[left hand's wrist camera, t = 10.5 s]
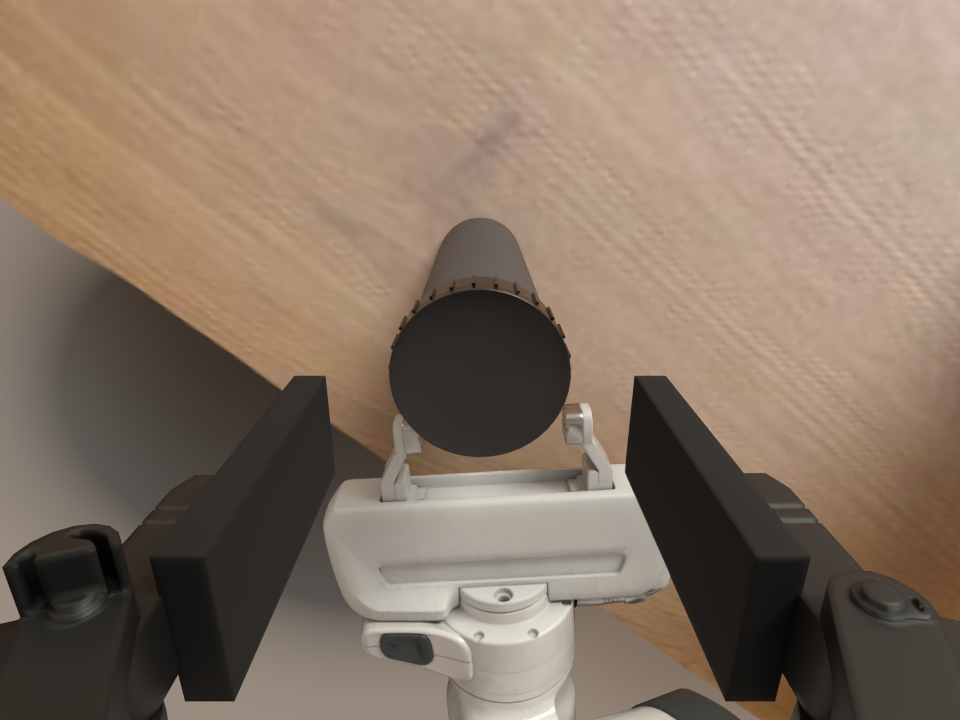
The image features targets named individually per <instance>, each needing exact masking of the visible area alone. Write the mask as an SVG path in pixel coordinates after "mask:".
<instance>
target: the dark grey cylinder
mask: <svg viewBox="0 0 960 720" xmlns="http://www.w3.org/2000/svg"><path fill="white" fill-rule="evenodd" d="M472 275H476V277H493V278H494V275H495V276H497V277H498V279H502V280H506V281H509V282H512V283H514V282H515V281H516V282H518V285H519V286H520V287H522V288H524V289H526V290H527V291H529V292H530V293H533V292H534V293H536V295H537V292H536V289H535V287H534V284H533V282H532V279H531V276H530V274H529V271H528V269H527V266H526V263H525V261H524V258H523V255H522V253H521V250H520V248H519V245H518V243H517V240H516V239H515V237H514V235H513V234H512V233H511V232H510V231H509V230H508V229H507V228H506V227H505V226H504V225H502V224H500V223H499V222H496V221H494V220H491V219H486V218H474V219H469V220H466V221H464V222H461V223H460V224H458V225H456V226H455V227H454V228H453V229H452V230H451V231H450V232H449V233H448V234H447V236H446V237H445V239H444V241H443V243H442V245H441V248H440V250H439V253H438V256H437V258H436V261H435V263H434V266H433V269H432V271H431V274H430V276H429V279H428V282H427V284H426V287H425V289H424V292H423V295H422V297H421V299H422V298H423V297H425V296H426V295H427V294H428V293H429V292H430V291H431V288H433V287H435V289H436V288H437V287H439V286H441V285H444V284H446V283H448V282H450V281H451V279H453V278H454V280H458V279H462V278H468V277H472ZM537 298H538V299H539V297H538V295H537Z"/></svg>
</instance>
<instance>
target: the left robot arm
mask: <svg viewBox="0 0 960 720" xmlns="http://www.w3.org/2000/svg"><path fill="white" fill-rule="evenodd" d="M334 474H335V465H334V455H333V445H332V436H331V426H330V416H329V406H328V397H327V387H326V377H325V376H294V377H293V378H292V379H291V381H290V382H289V383H288V384H287V386H286V387H285V388H284V389H283V391H282V392H281V393H280V394H279V396H278V397H277V398H276V399H275V401H274V402H273V403H272V404H271V406H270V407H269V408H268V409H267V411H266V412H265V413H264V414H263V416H262V417H261V418H260V419H259V421H258V422H257V423H256V424H255V426H254V427H253V428H252V429H251V431H250V432H249V433H248V434H247V436H246V437H245V438H244V439H243V441H242V442H241V443H240V444H239V446H238V447H237V448H236V449H235V450H234V452H233V453H232V454H231V455H230V457H229V458H228V459H227V460H226V462H225V463H224V464H223V465H222V467H221V468H220V469H219V470H218V472H217V473H216V474H215V475H194V476H193V477H191V478H189V479H188V480H186V481H185V482H183V483H181V484H180V485H178V486H177V487H175V488H173V489H172V490H170V492H169V493H168V494H167V495H166V496H165V497H164V498H163V499H162V501H161V502H160V503H159V504H158V505H157V506H156V509H155V511H152V512H151V513H150V514H149V515H148V516H147V517H146V518H145V520H144V521H143V524H142V525H139V526H138V527H137V528H136V530H135V531H134V532H133V533H132V534H131V535H130V536H129V537H128V539H127V540H126V541H125V542H124V543H123V544H122V543H121V539H120V536H119V532H117V531H116V530H114V529H113V528H112V527H110V526H106V525H99V524H88V525H79V526H73V527H69V528H66V529H62V530H59V531H55V532H52V533H50V534H48V535H46V536H43V537H41V538H39V539H37V540H35V541H33V542H31V543H29V544H28V545H26V546H25V547H23V548H22V549H21V550H19V551H18V552H16V553H15V554H13V556H12V557H11V558H10V559H9V560H8V561H7V563H6V564H5V565H4V566H3V567H2V568H3V571H4V574H5V576H6V579H7V582H8V585H9V587H10V590H11V593H12V596H13V598H14V601H15V604H16V607H17V609H18V612H19V615H20V619H19V620H15V621H12V622H7V623H2V624H0V720H168V718H167V712H166V707H165V703H164V698H165V697H166V695H167V693H168V691H169V689H170V688H171V686H172V684H173V682H174V681H175V679H176V677H177V675H179V679H180V683H181V687H182V691H183V695H184V699H185V701H235V699H236V696H237V694H238V692H239V690H240V687H241V685H242V683H243V680H244V678H245V676H246V674H247V671H248V669H249V667H250V665H251V662H252V660H253V658H254V656H255V653H256V651H257V649H258V646H259V644H260V642H261V640H262V637H263V635H264V633H265V631H266V628H267V626H268V624H269V622H270V619H271V617H272V615H273V612H274V610H275V608H276V606H277V603H278V601H279V599H280V597H281V594H282V592H283V590H284V588H285V585H286V583H287V581H288V579H289V576H290V574H291V572H292V569H293V567H294V565H295V563H296V560H297V558H298V556H299V553H300V551H301V549H302V547H303V545H304V542H305V540H306V538H307V535H308V533H309V531H310V529H311V526H312V524H313V522H314V520H315V517H316V515H317V513H318V511H319V508H320V506H321V504H322V502H323V499H324V497H325V495H326V492H327V490H328V488H329V486H330V483H331V481H332V479H333V476H334ZM625 474H626V477H627V479H628V481H629V483H630V486H631V488H632V490H633V492H634V495H635V497H636V499H637V502H638V504H639V506H640V508H641V511H642V513H643V515H644V517H645V520H646V522H647V524H648V526H649V529H650V531H651V533H652V535H653V538H654V540H655V542H656V545H657V547H658V549H659V551H660V554H661V556H662V558H663V560H664V563H665V565H666V567H667V569H668V572H669V574H670V576H671V579H672V581H673V583H674V585H675V588H676V590H677V592H678V594H679V597H680V599H681V601H682V603H683V606H684V608H685V610H686V613H687V615H688V617H689V619H690V622H691V624H692V626H693V628H694V631H695V633H696V635H697V637H698V640H699V642H700V644H701V647H702V649H703V651H704V653H705V656H706V658H707V660H708V662H709V665H710V667H711V669H712V671H713V674H714V676H715V678H716V680H717V683H718V685H719V687H720V690H721V692H722V694H723V696H724V699H725V701H775V699H776V695H777V691H778V687H779V683H780V679H781V675H782V673H783V674H784V676H785V678H786V680H787V681H788V683H789V685H790V687H791V688H792V690H793V692H794V693H795V695H796V697H797V700H796V703H795V707H794V711H793V715H792V718H791V720H960V621H956V620H951V619H947V618H943V617H940V616H939V615H938V613H937V612H936V611H935V609H934V608H933V606H932V605H931V604H930V602H928V601H927V600H926V599H925V598H923V597H922V596H921V595H920V594H918V593H917V592H916V591H915V590H913V589H912V588H910V587H908V586H906V585H904V584H902V583H900V582H898V581H896V580H895V579H893V578H890V577H886V576H883V575H880V574H877V573H874V572H870V571H864V570H863V569H862V568H861V567H860V566H859V565H858V564H857V563H856V561H855V560H854V559H853V558H852V557H851V556H850V555H849V554H848V553H847V551H846V550H845V549H844V548H843V547H842V546H841V545H840V544H839V543H838V541H837V540H836V539H835V538H834V537H833V536H832V535H831V534H830V533H829V531H828V530H827V529H826V528H825V527H824V526H823V525H822V524H821V523H818V519H817V518H816V517H815V516H814V515H813V514H812V513H811V511H810V510H809V509H805V505H804V504H803V503H802V501H801V500H800V499H799V498H798V497H797V496H796V495H795V494H794V493H793V491H792V490H791V489H790V488H788V487H787V486H785V485H784V484H782V483H780V482H779V481H777V480H776V479H774V478H772V477H771V476H769V475H768V474H766V473H743V472H742V470H741V469H740V468H739V467H738V465H737V464H736V463H735V462H734V460H733V459H732V458H731V457H730V455H729V454H728V453H727V452H726V450H725V449H724V448H723V447H722V446H721V444H720V443H719V442H718V441H717V439H716V438H715V437H714V436H713V434H712V433H711V432H710V431H709V429H708V428H707V427H706V426H705V424H704V423H703V422H702V421H701V419H700V418H699V417H698V416H697V414H696V413H695V412H694V411H693V409H692V408H691V407H690V406H689V404H688V403H687V402H686V401H685V399H684V398H683V397H682V396H681V394H680V393H679V392H678V391H677V389H676V388H675V387H674V386H673V384H672V383H671V382H670V381H669V379H668V378H667V377H666V376H635V377H634V387H633V397H632V406H631V416H630V426H629V436H628V445H627V455H626V465H625Z"/></svg>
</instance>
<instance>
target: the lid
mask: <svg viewBox="0 0 960 720" xmlns="http://www.w3.org/2000/svg"><path fill="white" fill-rule="evenodd" d="M554 319H555V318H554V316H553V313H552V311H551V309H550V307H547V308H546V306H545V305H544V304H543V303H542V302H541V301H540V300H539V299H538V298H537V295H536V293H534V292H533V293H530V292H529V291H527V290H526V289H524V288H522V287H520V286H519V285H518V282H516V281H515V282H514V283H512V282H509V281H506V280H502V279H498V277H497V276H495V275H494V278H493V277H476V275H472V277H468V278H462V279H458V280H454V278H453V279H451V281H450V282H448V283H446V284H444V285H441V286H439V287H437V288H436V289H435V287H433V288H431V291H430V292H429V293H428V294H427V295H426V296H425V297H423V298H422V299H421V300H420V301H418V300H416V301H415V304H414V306H413V309H412V310H411V312H410V313H409V315H408V316H407V317H406V316H404V318H403V320H402V322H401V324H400V327H399V330H400V332H399V335H398V334H397V335H396V337H395V339H394V342H393V344H392V346H391V349H393V351H392V354H391V359H390V364H389V378H390V387H391V391H392V395H393V398H394V401H395V403H396V406H397V408H398V409H399V411H400V413H401V415H402V416H403V418H404V419H405V420H406V422H407V423H408V425H409V426H410V427H411V428H412V429H413V430H414V431H415V432H416V433H417V434H419V435H420V436H421V437H422V438H424V439H425V440H426V441H428V442H430V443H431V444H433V445H434V446H436V447H439V448H441V449H443V450H445V451H448V452H451V453H454V454H459V455H464V456H473V457H489V456H496V455H501V454H505V453H509V452H512V451H514V450H517V449H519V448H522V447H523V446H525V445H527V444H529V443H531V442H532V441H534V440H535V439H536V438H538V437H539V436H540V435H541V434H543V433H544V432H545V431H546V430H547V429H548V428H549V427H550V425H551V424H552V423H553V422H554V421H555V419H556V418H557V416H558V415H559V413H560V412H561V410H562V407H563V405H564V403H565V401H566V398H567V395H568V391H569V386H570V378H571V367H570V359H569V358H571V356H570V353H569V350H568V348H567V346H566V344H565V342H564V340H563V338H565V335H564V333H563V331H562V328H561V326H560V324H558V325H557V324H556V321H555V320H554Z"/></svg>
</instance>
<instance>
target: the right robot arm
mask: <svg viewBox="0 0 960 720" xmlns="http://www.w3.org/2000/svg"><path fill="white" fill-rule="evenodd" d="M562 415H563V419H562V431H563V435H565V442H566V444H581V446H582V447H583V449H584V450H585V451H586V453H584V454H582V466H577V467H560V468H543V469H525V470H508V471H491V472H473V473H456V474H439V475H421V476H410V471H409V465H408V464H403V462H404V460H405V458H406V456H407V454H415V453H422V448H423V445H422V444H423V443H424V438H422V437H421V436H420V435H419V434H417V433H416V432H415V431H414V430H413V429H412V428H411V427H410V426H409V425H408V423H407V422H406V420H405V419H404V418H403V416H402V415H401V414H397V415H395V418H394V421H393V438H394V446H395V447H394V449H393V451H392V453H391V455H390V457H389V459H388V461H387V463H386V465H385V468H384V472H383V475H382V478H370V479H351V480H346V481H344V482H343V483H342V484H341V485H340V487H339V488H338V489H337V491H336V492H335V493H334V495H333V497H332V498H331V500H330V502H329V505H328V507H327V510H326V513H325V516H324V522H323V531H324V537H325V542H326V546H327V550H328V554H329V558H330V561H331V565H332V568H333V571H334V574H335V577H336V580H337V583H338V585H339V588H340V590H341V593H342V595H343V597H344V599H345V600H346V602H347V603H348V605H349V606H350V607H351V608H352V609H353V610H354V611H355V612H356V613H358V614H360V615H361V616H363V624H362V638H361V639H362V646H363V649H364V650H365V652H366V653H367V654H369V655H371V656H373V657H376V658H380V659H385V660H390V661H396V662H400V663H405V664H409V665H414V666H418V667H421V668H425V669H428V670H431V671H435V672H438V673H440V674H443V675H445V676H448V678H449V682H448V687H447V707H448V715H449V720H575V713H576V712H575V711H576V697H575V687H574V682H573V678H572V675H571V673H570V672H571V669H572V666H573V662H574V654H575V618H574V608H575V607H576V606H591V605H603V604H608V603H613V602H614V603H617V602H624V603H630V604H631V603H639V602H643V601H645V600H646V596H648V595H652V594H654V593H656V592H658V591H660V590H661V589H663V588H665V587H666V586H667V585H668V582H669V579H670V574H669V572H668V569H667V567H666V565H665V563H664V560H663V558H662V556H661V554H660V551H659V549H658V547H657V545H656V542H655V540H654V538H653V535H652V533H651V531H650V529H649V526H648V524H647V522H646V520H645V517H644V515H643V513H642V511H641V508H640V506H639V504H638V502H637V499H636V497H635V495H634V492H633V490H632V488H631V486H630V483H629V481H628V479H627V477H626V474H625V465H626V464H612V465H610V462H609V460H608V457H607V455H606V452H605V450H604V449H603V448H602V446H601V445H600V443H599V442H598V440H597V439H596V437H595V436H594V434H593V419H592V412H591V409H590V407H589V404H588V403H579V404H564V405H563V407H562ZM592 720H740V719H739V718H737V717H736V716H735V715H734V714H732V713H731V712H730V711H728V710H727V709H725V708H724V707H722V706H720V705H719V704H717V703H715V702H714V701H712V700H710V699H708V698H706V697H704V696H702V695H700V694H698V693H696V692H694V691H692V690H689V689H677V690H675V691H672V692H670V693H667V694H664V695H662V696H659V697H657V698H654V699H651V700H649V701H646V702H643V703H640V704H638V705H636V706H634V707H632V708H631V709H630V710H626V711H622V712H618V713H614V714H611V715H607V716H603V717H599V718H595V719H592Z"/></svg>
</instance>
